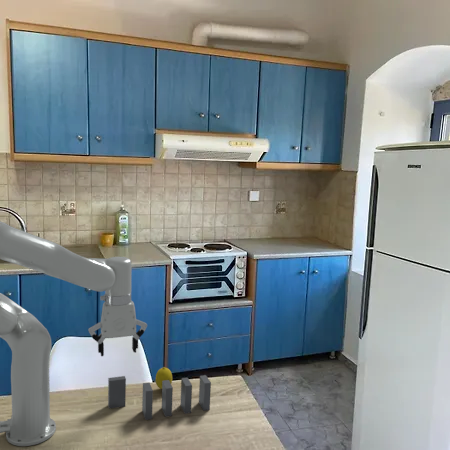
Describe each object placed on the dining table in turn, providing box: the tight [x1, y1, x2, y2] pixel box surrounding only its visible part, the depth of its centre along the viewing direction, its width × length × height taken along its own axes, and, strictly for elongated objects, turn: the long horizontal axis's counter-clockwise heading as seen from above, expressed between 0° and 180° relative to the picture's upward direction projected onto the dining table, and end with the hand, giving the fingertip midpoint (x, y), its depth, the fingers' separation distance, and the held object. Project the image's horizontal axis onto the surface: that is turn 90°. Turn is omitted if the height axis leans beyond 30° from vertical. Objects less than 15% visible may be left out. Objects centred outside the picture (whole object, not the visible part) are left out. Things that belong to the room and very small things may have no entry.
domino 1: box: [107, 375, 127, 410], centre depth 140 cm, size 2×5×9 cm, turn 111°
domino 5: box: [198, 374, 212, 412], centre depth 142 cm, size 2×5×9 cm, turn 20°
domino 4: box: [180, 377, 193, 415], centre depth 140 cm, size 2×5×9 cm, turn 20°
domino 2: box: [141, 382, 154, 421], centre depth 136 cm, size 2×5×9 cm, turn 20°
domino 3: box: [161, 380, 174, 418], centre depth 138 cm, size 2×5×9 cm, turn 20°
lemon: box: [155, 366, 173, 390], centre depth 151 cm, size 6×6×8 cm
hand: (118, 352), depth 138 cm, fingers open, 9 cm apart
